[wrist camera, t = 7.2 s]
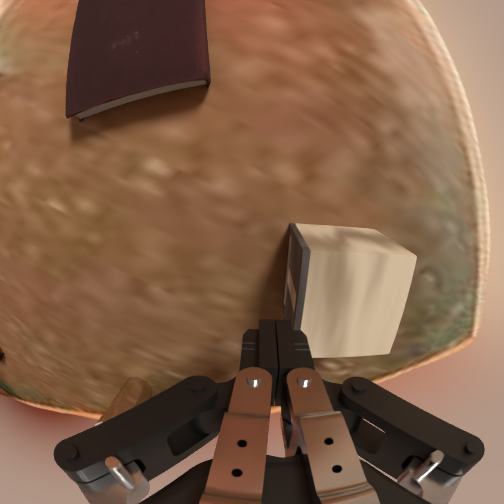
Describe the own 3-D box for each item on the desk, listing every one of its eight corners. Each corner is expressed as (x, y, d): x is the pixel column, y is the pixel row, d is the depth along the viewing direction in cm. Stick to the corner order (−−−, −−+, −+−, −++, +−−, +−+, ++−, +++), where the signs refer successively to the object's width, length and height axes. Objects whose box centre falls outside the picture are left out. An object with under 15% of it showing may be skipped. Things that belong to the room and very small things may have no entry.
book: (207, -53, 12) (202, -71, 9) (214, 89, 18) (206, 76, 15) (99, -19, 13) (85, -31, 10) (82, 123, 19) (60, 120, 16)
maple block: (289, 357, 16) (389, 353, 16) (303, 250, 14) (417, 256, 14) (282, 305, 23) (359, 306, 22) (289, 223, 20) (374, 229, 20)
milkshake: (113, 384, 27) (80, 442, 17) (132, 367, 26) (95, 433, 16) (142, 405, 28) (116, 466, 18) (164, 391, 27) (138, 460, 17)
